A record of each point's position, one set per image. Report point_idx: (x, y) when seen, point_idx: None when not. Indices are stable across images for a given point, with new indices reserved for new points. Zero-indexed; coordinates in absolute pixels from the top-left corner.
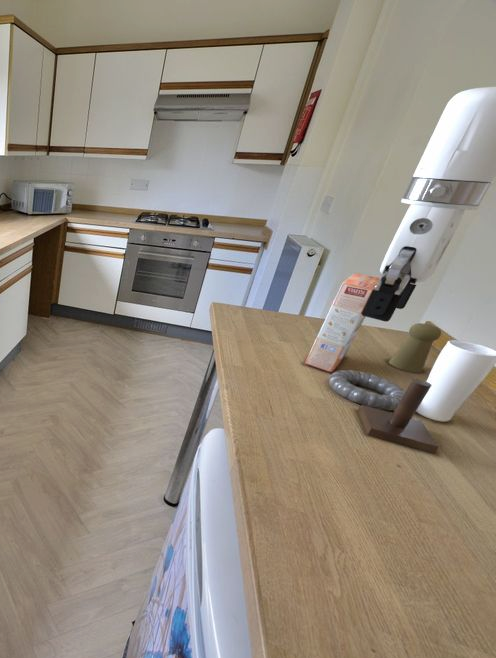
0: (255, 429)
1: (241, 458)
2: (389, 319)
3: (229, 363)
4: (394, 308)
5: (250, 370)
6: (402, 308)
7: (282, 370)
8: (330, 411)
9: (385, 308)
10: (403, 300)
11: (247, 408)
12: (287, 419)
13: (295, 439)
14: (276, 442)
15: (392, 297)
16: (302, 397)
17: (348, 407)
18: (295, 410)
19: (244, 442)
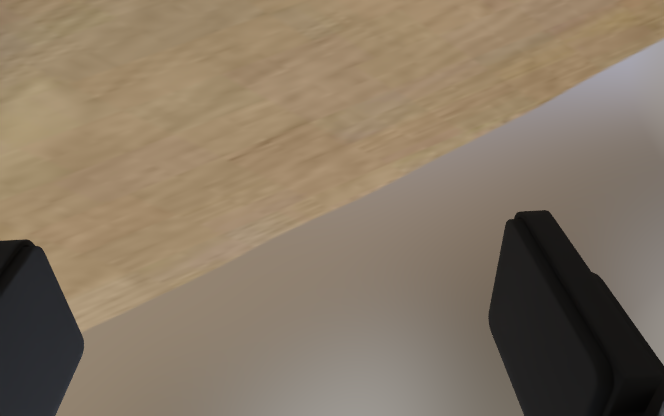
0: (419, 116)
1: (579, 80)
2: (549, 216)
3: (137, 293)
4: (592, 280)
5: (113, 253)
6: (24, 240)
7: (5, 213)
8: (106, 38)
9: (620, 308)
10: (14, 301)
11: (332, 170)
12: (288, 91)
13: (375, 38)
14: (435, 61)
15: (658, 387)
16: (111, 117)
17: (11, 13)
18: (213, 99)
19: (503, 105)
